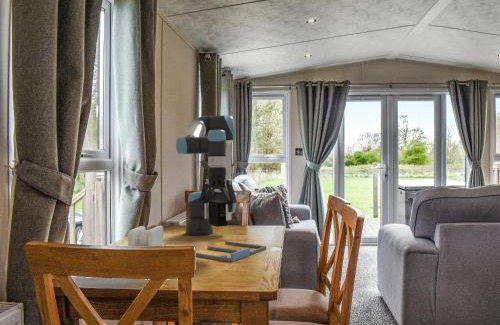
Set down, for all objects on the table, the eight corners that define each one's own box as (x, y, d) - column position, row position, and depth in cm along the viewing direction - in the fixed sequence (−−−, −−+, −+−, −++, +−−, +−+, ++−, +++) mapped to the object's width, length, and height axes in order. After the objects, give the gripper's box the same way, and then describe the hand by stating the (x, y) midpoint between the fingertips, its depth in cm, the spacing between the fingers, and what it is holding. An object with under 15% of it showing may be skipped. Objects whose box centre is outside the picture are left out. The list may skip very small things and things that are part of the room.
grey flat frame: (226, 243, 186) (226, 237, 186) (267, 248, 173) (267, 242, 173) (187, 255, 163) (187, 248, 163) (230, 262, 150) (230, 254, 150)
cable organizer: (151, 259, 157) (151, 230, 157) (126, 259, 158) (126, 230, 159) (163, 251, 172) (163, 224, 172) (141, 250, 173) (140, 224, 173)
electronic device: (218, 227, 158) (217, 202, 158) (208, 223, 167) (208, 200, 167) (227, 226, 160) (227, 201, 160) (217, 223, 168) (217, 200, 169)
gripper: (190, 167, 167) (191, 218, 166) (234, 166, 154) (234, 222, 153) (202, 167, 173) (202, 216, 173) (244, 166, 160) (245, 219, 160)
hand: (217, 219), depth 163 cm, fingers closed on electronic device, 11 cm apart
